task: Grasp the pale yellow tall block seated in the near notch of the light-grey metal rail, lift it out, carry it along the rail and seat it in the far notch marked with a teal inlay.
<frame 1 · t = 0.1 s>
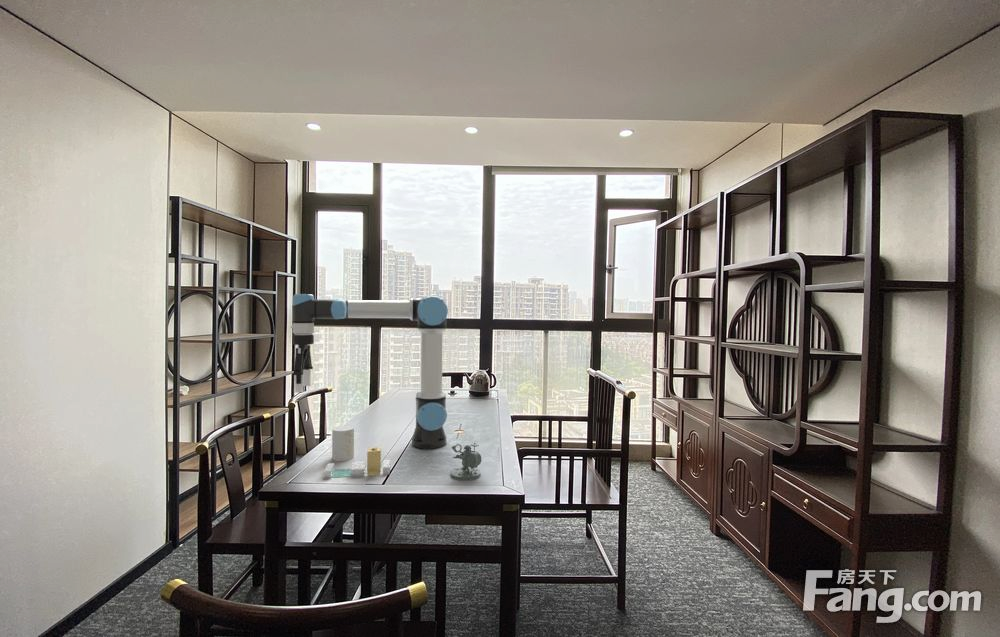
hand: (303, 389, 174), 28 cm above the table, fingers open, 13 cm apart
pale yellow tall block: (374, 471, 164), resting on rail
rail: (358, 473, 162), on the table
figurine: (465, 475, 162), on the table
cup: (343, 458, 178), on the table
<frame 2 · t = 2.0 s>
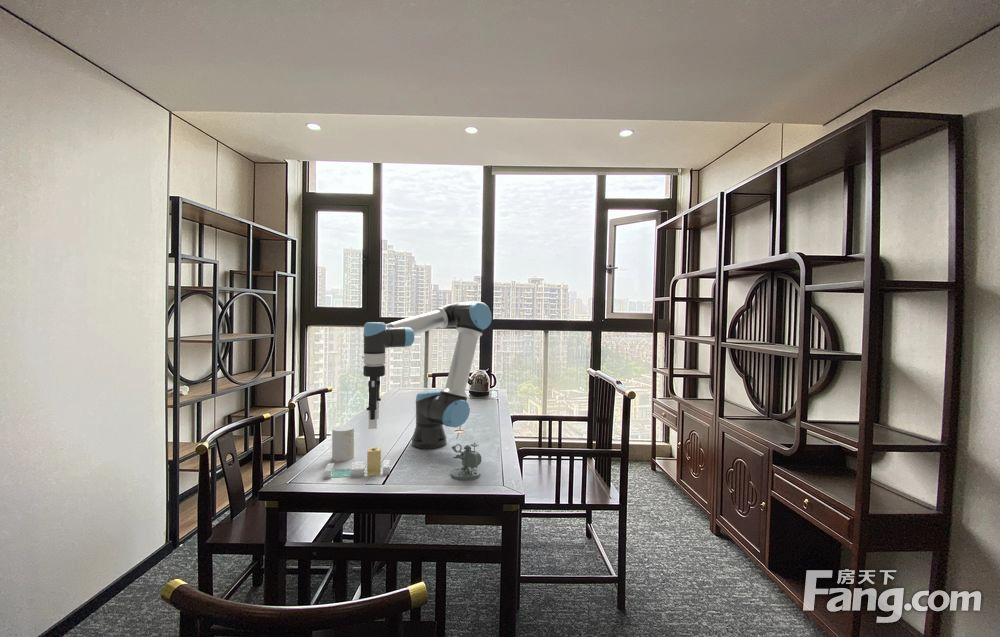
hand: (373, 423, 163), 18 cm above the table, fingers open, 13 cm apart
nothing on the table moved.
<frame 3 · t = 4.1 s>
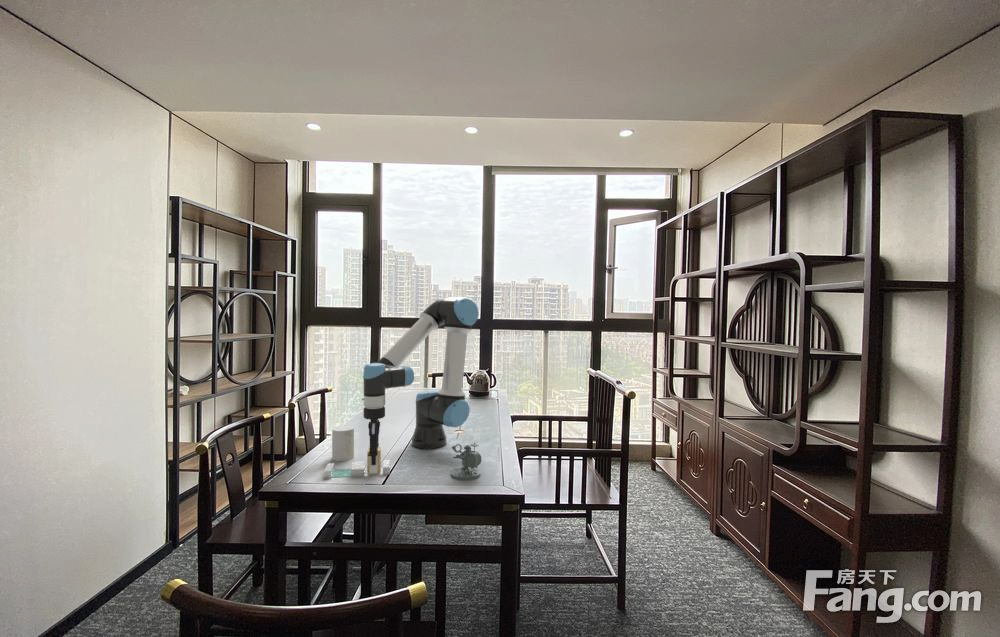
hand: (374, 470, 164), 1 cm above the table, fingers closed on pale yellow tall block, rail, 4 cm apart
pale yellow tall block: (374, 471, 164), resting on rail, touching gripper
everything else where it was.
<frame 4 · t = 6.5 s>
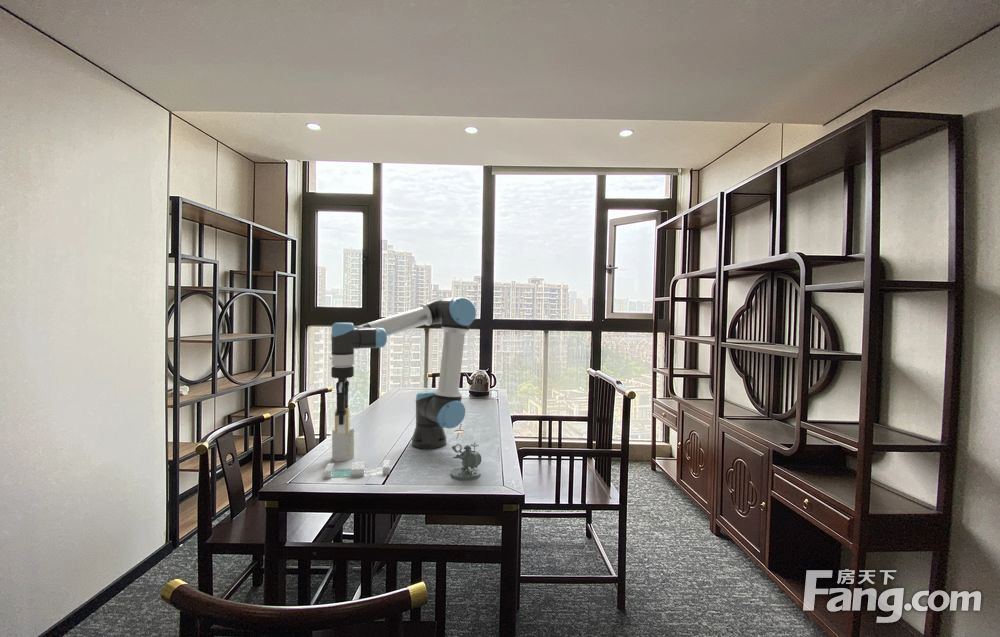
hand: (342, 431, 161), 16 cm above the table, fingers closed on pale yellow tall block, 4 cm apart
pale yellow tall block: (342, 431, 161), point 15 cm above the table, touching gripper
everything else where it was.
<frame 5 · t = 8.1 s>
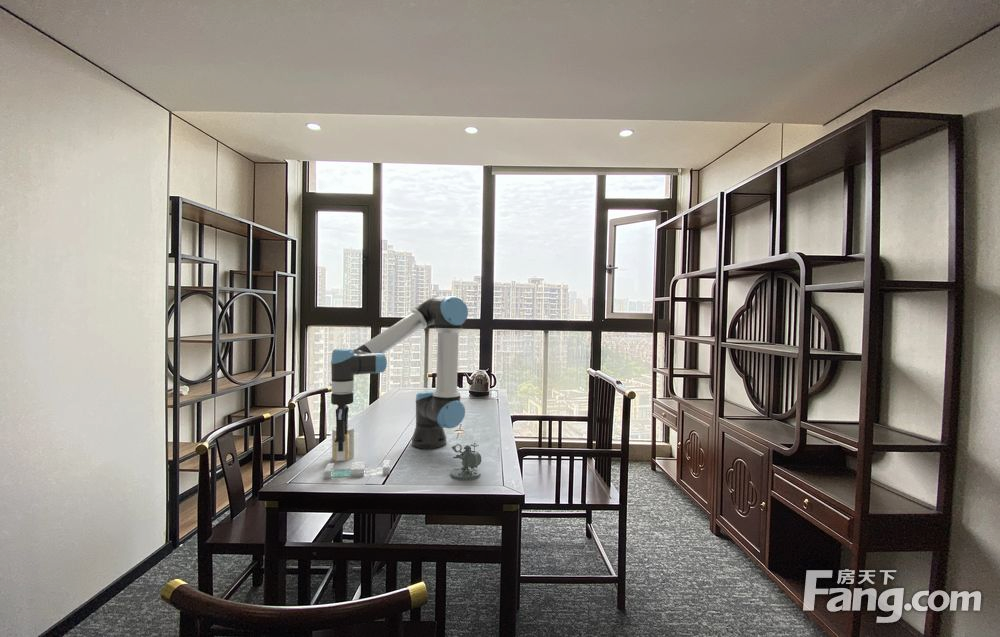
hand: (341, 457, 161), 6 cm above the table, fingers closed on pale yellow tall block, 4 cm apart
pale yellow tall block: (341, 457, 161), point 6 cm above the table, touching gripper
everything else where it was.
when the fingers open (2 cm above the table, at t = 9.2 s): pale yellow tall block stays where it is, resting on rail.
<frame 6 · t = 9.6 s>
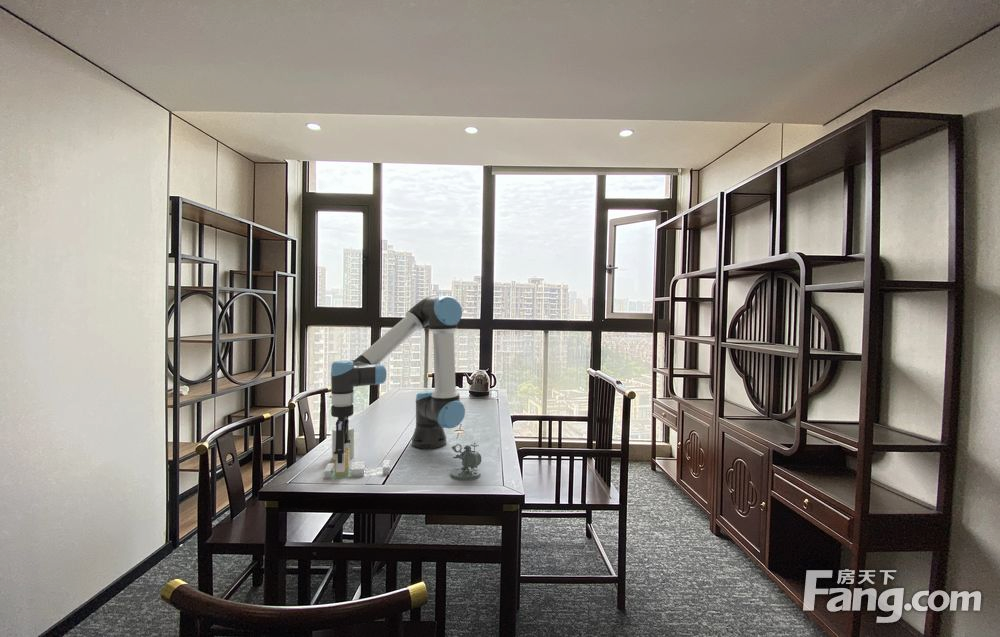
hand: (342, 466, 161), 3 cm above the table, fingers open, 10 cm apart
pale yellow tall block: (342, 472, 161), point 1 cm above the table, touching rail
everything else where it was.
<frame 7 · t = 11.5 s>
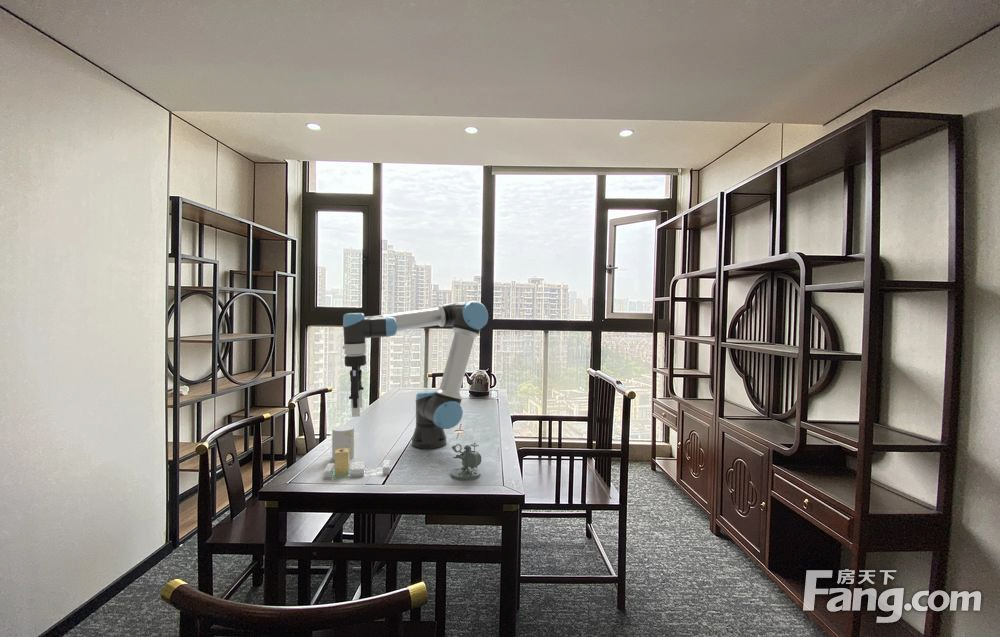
hand: (357, 411, 167), 21 cm above the table, fingers open, 13 cm apart
nothing on the table moved.
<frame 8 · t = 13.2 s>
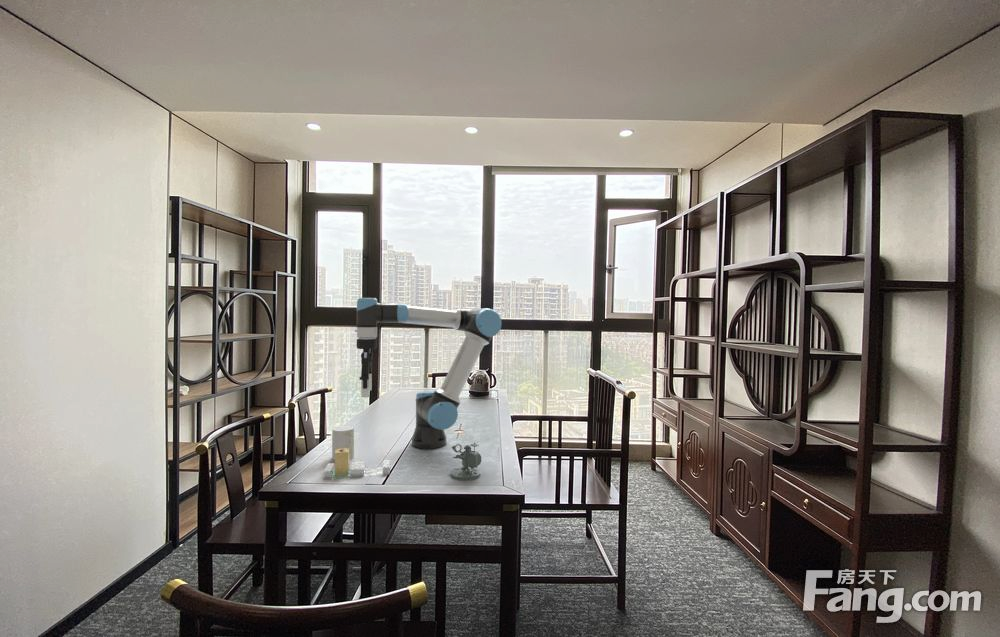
hand: (366, 393, 173), 27 cm above the table, fingers open, 13 cm apart
nothing on the table moved.
at the end: pale yellow tall block 0.0 cm from the target spot on the rail, point 0.6 cm above the rail's base; pale yellow tall block tilted 0°; the gripper is holding nothing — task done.
